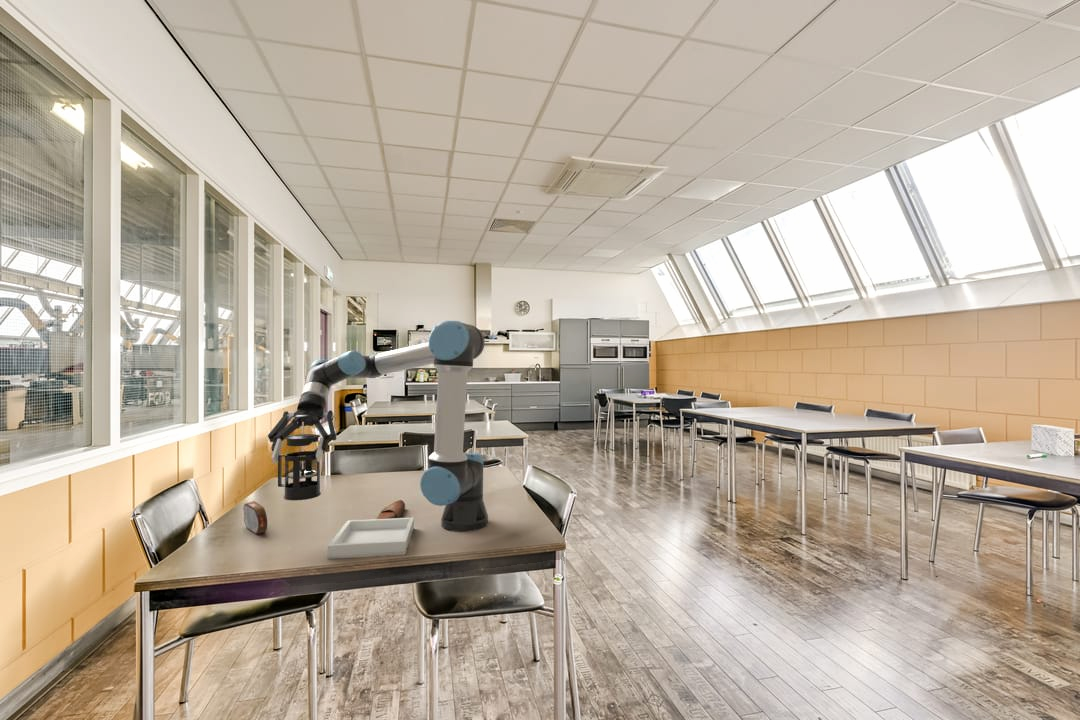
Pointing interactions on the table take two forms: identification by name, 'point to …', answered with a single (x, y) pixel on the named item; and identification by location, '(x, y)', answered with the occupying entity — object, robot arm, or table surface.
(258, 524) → the tin
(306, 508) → the table surface
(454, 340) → the robot arm
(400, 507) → the sunglasses case
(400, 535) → the tray
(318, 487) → the french press
